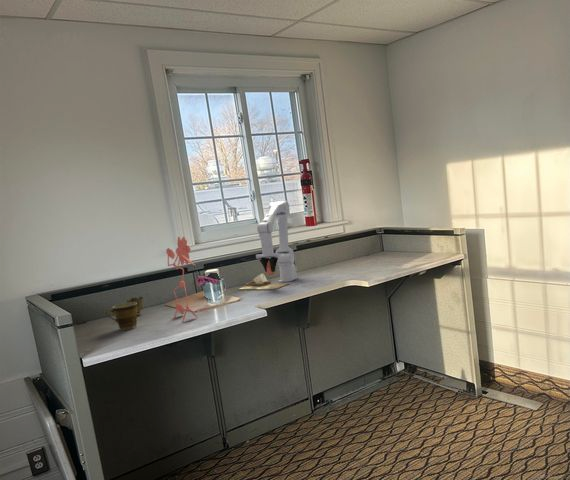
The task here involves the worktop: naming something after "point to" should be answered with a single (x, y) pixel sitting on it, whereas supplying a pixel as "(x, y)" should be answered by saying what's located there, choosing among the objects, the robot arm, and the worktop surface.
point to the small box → (212, 272)
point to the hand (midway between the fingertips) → (270, 271)
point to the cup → (139, 304)
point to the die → (260, 279)
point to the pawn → (269, 269)
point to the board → (262, 286)
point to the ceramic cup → (125, 315)
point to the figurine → (183, 256)
